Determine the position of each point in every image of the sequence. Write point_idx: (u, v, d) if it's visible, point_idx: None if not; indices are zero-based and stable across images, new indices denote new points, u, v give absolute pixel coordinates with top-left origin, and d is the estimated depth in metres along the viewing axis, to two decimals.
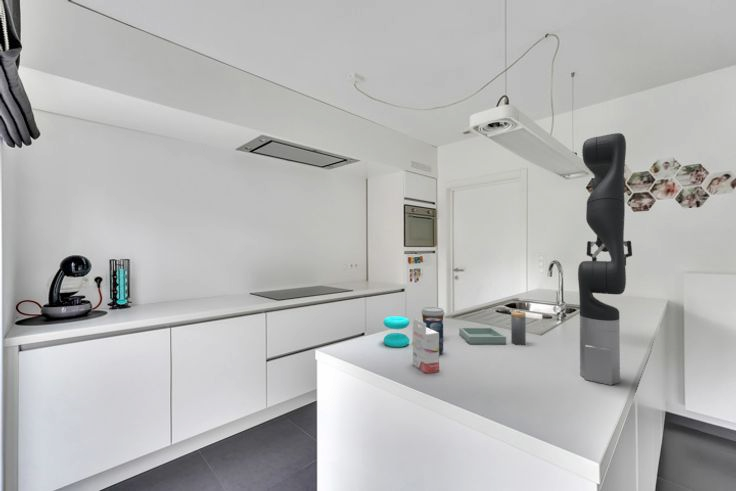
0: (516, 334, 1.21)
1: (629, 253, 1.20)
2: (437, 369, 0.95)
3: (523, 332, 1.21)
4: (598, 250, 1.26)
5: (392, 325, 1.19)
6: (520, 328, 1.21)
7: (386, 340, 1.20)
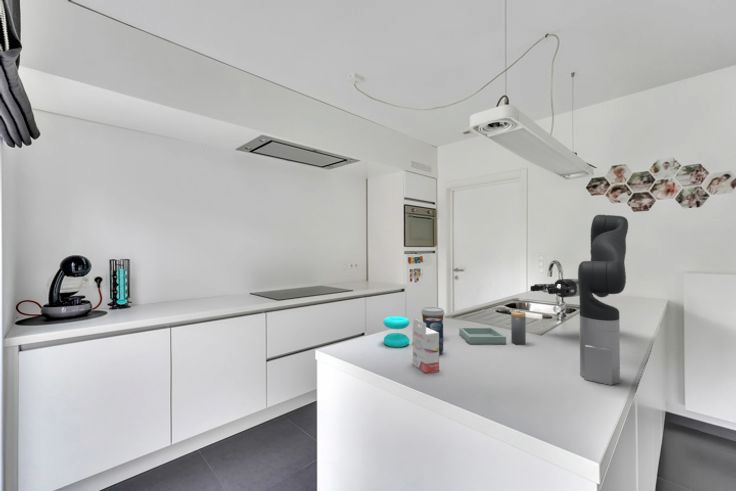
0: (516, 334, 1.21)
1: (564, 288, 1.23)
2: (437, 369, 0.95)
3: (523, 332, 1.21)
4: (545, 284, 1.32)
5: (392, 325, 1.19)
6: (520, 328, 1.21)
7: (386, 340, 1.20)
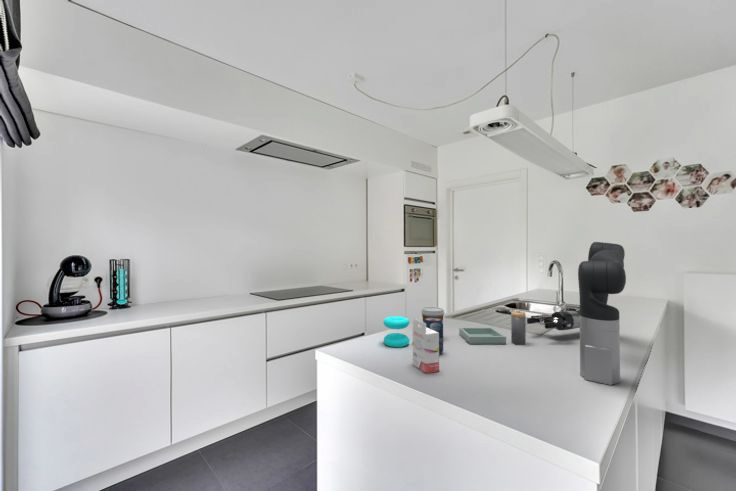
0: (516, 334, 1.21)
1: (561, 322, 1.22)
2: (437, 369, 0.95)
3: (523, 332, 1.21)
4: (542, 316, 1.32)
5: (392, 325, 1.19)
6: (520, 328, 1.21)
7: (386, 340, 1.20)
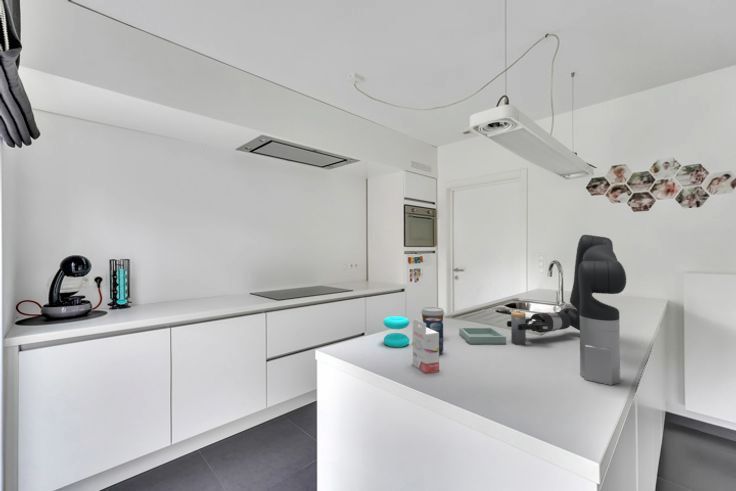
0: (516, 334, 1.21)
1: (534, 324, 1.20)
2: (437, 369, 0.95)
3: (523, 332, 1.21)
4: None
5: (392, 325, 1.19)
6: None
7: (386, 340, 1.20)
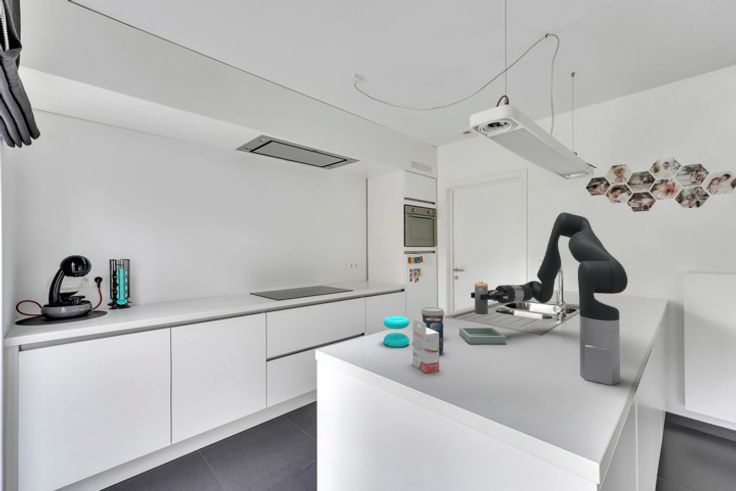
0: (479, 303, 1.27)
1: (495, 294, 1.25)
2: (437, 369, 0.95)
3: (485, 302, 1.27)
4: None
5: (392, 325, 1.19)
6: None
7: (386, 340, 1.20)
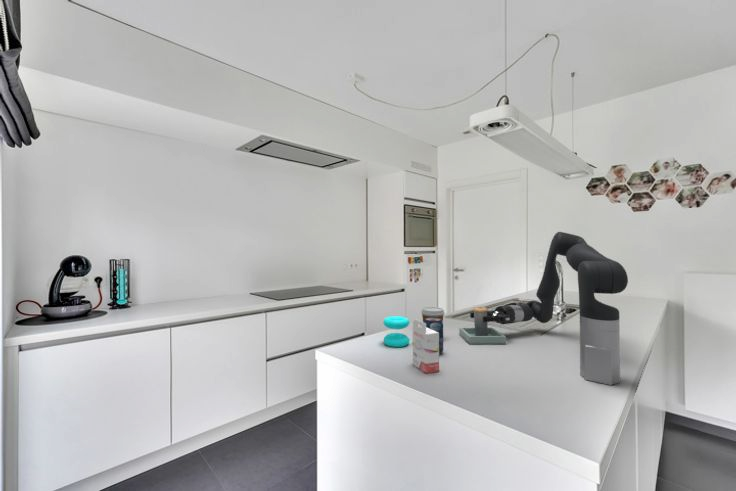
0: (478, 328, 1.27)
1: (498, 316, 1.24)
2: (437, 369, 0.95)
3: (485, 327, 1.26)
4: None
5: (392, 325, 1.19)
6: (481, 323, 1.26)
7: (386, 340, 1.20)
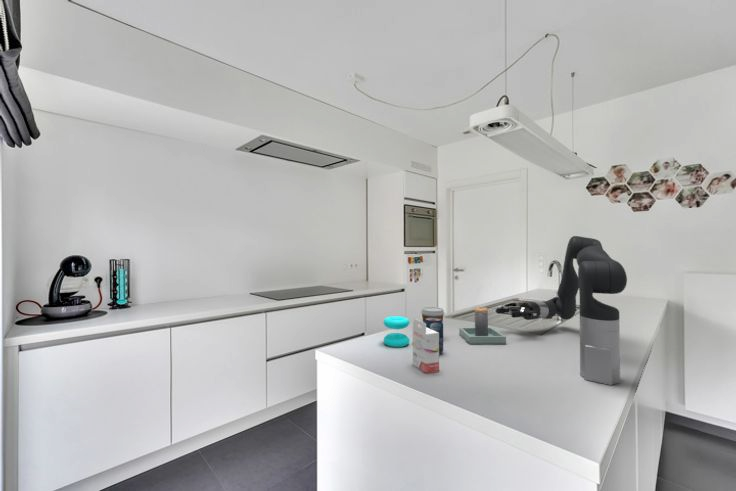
0: (479, 328, 1.27)
1: (526, 311, 1.28)
2: (437, 369, 0.95)
3: (485, 327, 1.26)
4: (511, 306, 1.37)
5: (392, 325, 1.19)
6: (482, 323, 1.26)
7: (386, 340, 1.20)
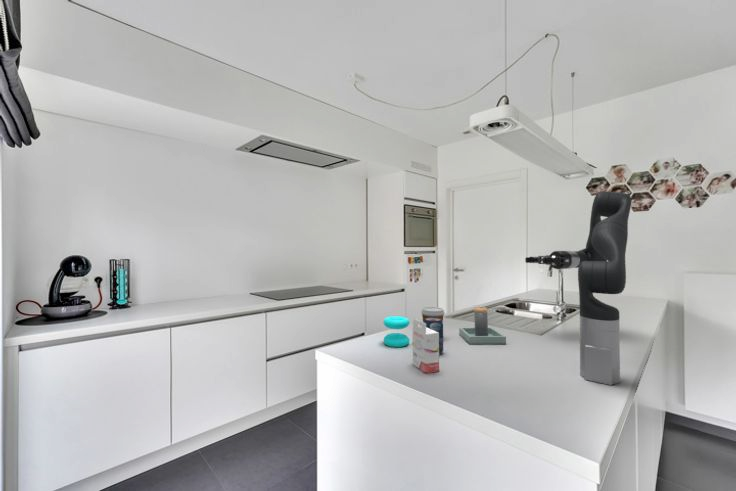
0: (478, 328, 1.27)
1: (559, 257, 1.23)
2: (437, 369, 0.95)
3: (485, 327, 1.27)
4: None
5: (392, 325, 1.19)
6: (481, 322, 1.26)
7: (386, 340, 1.20)
